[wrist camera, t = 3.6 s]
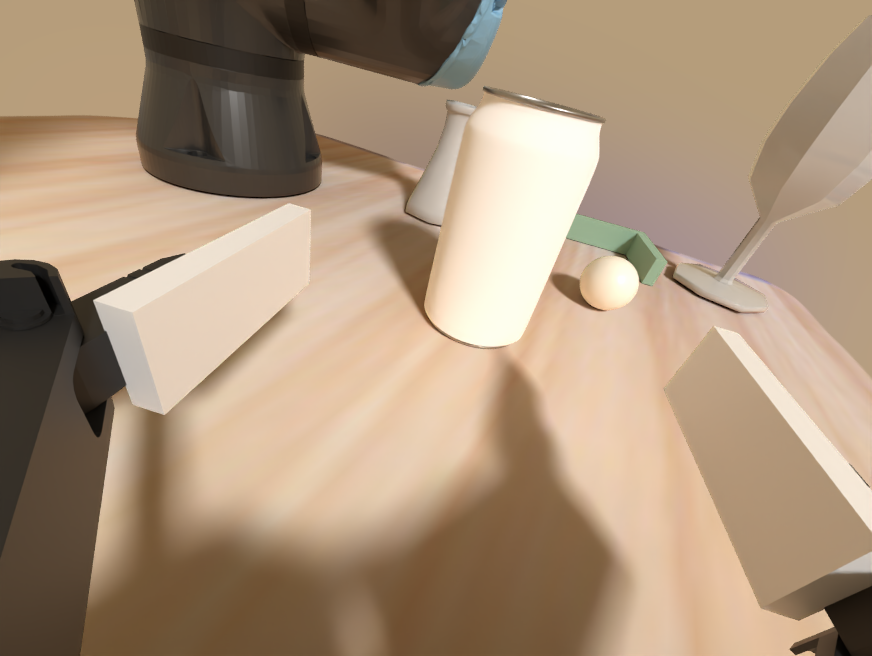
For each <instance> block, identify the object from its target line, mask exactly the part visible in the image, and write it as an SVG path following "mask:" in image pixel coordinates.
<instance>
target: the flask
mask: <svg viewBox="0 0 872 656" xmlns="http://www.w3.org/2000/svg"><path fill="white" fill-rule="evenodd" d="M446 108H447V110H448V111H447V117H446V122H445V126H444V129H443V132H442V135H441V138H440V140H439V143H438V146H437V148H436V150H435V152H434V154H433V156H432V158H431V160H430V161H429V163H428V165H427V167H426V169H425V171H424V173H423V175H422V177H421V178H420V180H419V182H418V184H417V185H416V187H415V189H414V191H413V192H412V194H411V196H410V198H409V200H408V202H407V206H406V211H405V212H407V213H409V214H411V215H413V216H415V217H417V218H419V219H422V220H424V221H426V222H428V223H432V224H437V225H441V226H442V221H443V217H444V213H445V208H446V204H447V200H448V195H449V191H450V187H451V182H452V178H453V174H454V170H455V165H456V161H457V157H458V153H459V148H460V144H461V140H462V136H463V132H464V129H465V126H466V123H467V121H468V119H469V117H470V116H471V115H472V113H473V112H474V110H475V109H476V108H477V107H476V106H472V105H469V104H466V103H462V102H458V101H452V100H447V101H446Z"/></svg>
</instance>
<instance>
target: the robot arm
mask: <svg viewBox="0 0 872 656" xmlns="http://www.w3.org/2000/svg"><path fill="white" fill-rule="evenodd" d="M134 1H135V6H136V11H137V15H138V20H139V25H140V30H141V35H142V41H143V45H144V52H145V57H146V68H145V75H144V82H143V89H142V96H141V103H140V110H139V117H138V124H137V131H136V140H137V145H138V150H139V154H140V158H141V163H142V166H143V167H144V168H145V169H146V170H147V171H148V172H149V173H151V174H152V175H154V176H156V177H158V178H160V179H162V180H165V181H167V182H170V183H173V184H176V185H179V186H183V187H187V188H191V189H195V190H200V191H205V192H211V193H217V194H225V195H234V196H249V197H276V196H288V195H295V194H300V193H304V192H307V191H310V190H313V189H314V188H316V187H318V186H319V185H320V183H321V175H322V158H321V153H320V150H319V146H318V142H317V138H316V135H315V131H314V128H313V124H312V120H311V116H310V113H309V109H308V105H307V102H306V98H305V93H304V55H305V54H309V55H313V56H317V57H320V58H324V59H328V60H332V61H335V62H339V63H343V64H346V65H350V66H354V67H357V68H361V69H364V70H368V71H372V72H375V73H379V74H383V75H387V76H390V77H394V78H398V79H401V80H405V81H408V82H412V83H415V84H418V85H419V86H428V85H431V86H437V87H442V88H448V89H458V88H461V87H463V86H465V85H466V84H468V83H469V82H470V81H471V80H472V79H473V78H474V76H475V75H476V74H477V72H478V71H479V69H480V67H481V65H482V64H483V62H484V60H485V58H486V55H487V54H488V51H489V49H490V47H491V45H492V42H493V40H494V38H495V35H496V33H497V30H498V27H499V25H500V22H501V19H502V12H503V7H504V6H505V4H506V2H507V0H134ZM310 235H311V209H307V208H304V207H300V206H297V205H293V204H290V203H288V204H286V205H284V206H282V207H280V208H278V209H276V210H274V211H272V212H270V213H268V214H266V215H264V216H262V217H260V218H258V219H256V220H254V221H252V222H250V223H248V224H246V225H244V226H242V227H240V228H238V229H236V230H234V231H232V232H230V233H228V234H226V235H224V236H222V237H220V238H218V239H216V240H214V241H212V242H210V243H208V244H205V245H203V246H201V247H199V248H197V249H195V250H193V251H191V252H189V253H187V254H185V253H184V254H180V255H175V256H171V257H167V258H162V259H160V260H158V261H156V262H154V263H151V264H149V265H147V266H145V267H143V270H140V269H139V270H137V271H135V272H132V273H130V274H128V276H127V277H122V278H120V279H118V280H116V281H114V282H111V283H109V284H107V285H105V286H103V287H101V288H99V289H97V290H95V291H93V292H90V293H88V294H86V295H84V296H82V297H80V298H78V299H76V300H74V301H72V302H71V300H70V298H69V296H68V293H67V291H66V288H65V286H64V284H63V281H62V279H61V277H60V274H59V272H58V269H57V268H55V267H53V266H52V265H50V264H48V263H44V262H40V261H35V260H4V261H0V656H80V651H81V643H82V636H83V629H84V622H85V615H86V608H87V601H88V593H89V586H90V579H91V572H92V565H93V558H94V551H95V543H96V536H97V529H98V522H99V515H100V508H101V501H102V493H103V486H104V479H105V472H106V465H107V458H108V451H109V443H110V436H111V429H112V422H113V415H114V404H113V400H112V398H111V396H112V395H114V394H115V393H116V392H118V391H119V390H120V389H122V388H123V387H124V386H126V389H127V391H128V394H129V397H130V399H131V402H132V405H135V406H138V407H141V408H144V409H147V410H150V411H153V412H156V413H160V414H163V415H165V414H166V413H167V412H168V411H170V410H171V409H172V408H173V407H174V406H175V405H176V404H177V403H178V402H179V401H181V400H182V399H183V398H184V397H185V396H186V395H187V394H188V393H189V392H190V391H192V390H193V389H194V388H195V387H196V386H197V385H198V384H199V383H200V382H201V381H203V380H204V379H205V378H206V377H207V376H208V375H209V374H210V373H211V372H212V371H214V370H215V369H216V368H217V367H218V366H219V365H220V364H221V363H222V362H223V361H225V360H226V359H227V358H228V357H229V356H230V355H231V354H232V353H233V352H234V351H236V350H237V349H238V348H239V347H240V346H241V345H242V344H243V343H244V342H245V341H246V340H248V339H249V338H250V337H251V336H252V335H253V334H254V333H255V332H256V331H257V330H259V329H260V328H261V327H262V326H263V325H264V324H265V323H266V322H267V321H268V320H270V319H271V318H272V317H273V316H274V315H275V314H276V313H277V312H278V311H279V310H281V309H282V308H283V307H284V306H285V305H286V304H287V303H288V302H289V301H290V300H292V299H293V298H294V297H295V296H296V295H297V294H298V293H299V292H300V291H301V290H303V289H304V288H305V287H306V286H307V285H308V284H309V283H310ZM664 392H665V394H666V396H667V398H668V401H669V403H670V405H671V407H672V410H673V412H674V414H675V416H676V419H677V421H678V423H679V425H680V428H681V430H682V432H683V434H684V437H685V439H686V441H687V443H688V446H689V448H690V450H691V452H692V455H693V457H694V459H695V461H696V464H697V466H698V468H699V470H700V473H701V475H702V477H703V479H704V482H705V484H706V486H707V488H708V491H709V493H710V495H711V497H712V500H713V502H714V504H715V506H716V509H717V511H718V513H719V515H720V518H721V520H722V522H723V524H724V527H725V529H726V531H727V533H728V536H729V538H730V540H731V542H732V545H733V547H734V549H735V551H736V554H737V556H738V558H739V560H740V563H741V565H742V567H743V569H744V572H745V574H746V576H747V578H748V581H749V583H750V585H751V587H752V590H753V592H754V594H755V596H756V599H757V601H758V603H759V605H760V608H761V609H764V610H767V611H771V612H774V613H777V614H780V615H783V616H786V617H789V618H792V619H795V620H798V621H799V620H801V619H803V618H806V617H808V616H810V615H812V614H814V613H817V612H819V611H821V610H823V609H825V611H826V612H827V614H828V616H829V618H830V619H831V621H832V623H833V625H834V627H833V628H831V629H828V630H826V631H823V632H821V633H818V634H816V635H814V636H811V637H809V638H806V639H804V640H801V641H799V642H796V643H794V644H793V646H792V647H791V648H790V650H791V651H792V652H793V653H794V654H795V655H797V654H800V653H803V652H805V651H812V652H813V653H815V656H872V491H871V489H870V487H869V486H868V484H867V483H866V482H865V481H864V480H863V479H862V477H861V476H860V475H859V474H858V473H857V471H856V470H855V469H854V468H853V467H852V466H851V465H850V464H849V463H848V462H847V461H846V460H845V459H844V458H843V456H842V455H841V454H840V453H839V452H838V450H837V449H836V448H835V447H834V446H833V445H832V443H831V442H830V441H829V440H828V439H827V437H826V436H825V435H824V434H823V433H822V432H821V430H820V429H819V428H818V427H817V426H816V424H815V423H814V422H813V421H812V420H811V419H810V417H809V416H808V415H807V414H806V413H805V411H804V410H803V409H802V408H801V407H800V405H799V404H798V403H797V402H796V401H795V400H794V398H793V397H792V396H791V395H790V394H789V392H788V391H787V390H786V389H785V388H784V387H783V385H782V384H781V383H780V382H779V381H778V379H777V378H776V377H775V376H774V375H773V374H772V372H771V371H770V370H769V369H768V368H767V366H766V365H765V364H764V363H763V362H762V361H761V359H760V358H759V357H758V356H757V355H756V353H755V352H754V351H753V350H752V349H751V348H750V346H749V345H748V344H747V343H746V342H745V340H744V339H743V338H742V337H741V336H740V335H739V333H736V332H733V331H729V330H726V329H722V328H719V327H715V326H713V327H712V328H711V330H710V331H709V332H708V333H707V335H706V336H705V337H704V339H703V340H702V341H701V342H700V344H699V345H698V346H697V347H696V349H695V350H694V351H693V352H692V354H691V355H690V356H689V357H688V359H687V360H686V361H685V362H684V364H683V365H682V366H681V367H680V369H679V370H678V371H677V372H676V374H675V375H674V376H673V377H672V379H671V380H670V381H669V382H668V384H667V385H666V386H665V387H664Z"/></svg>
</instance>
